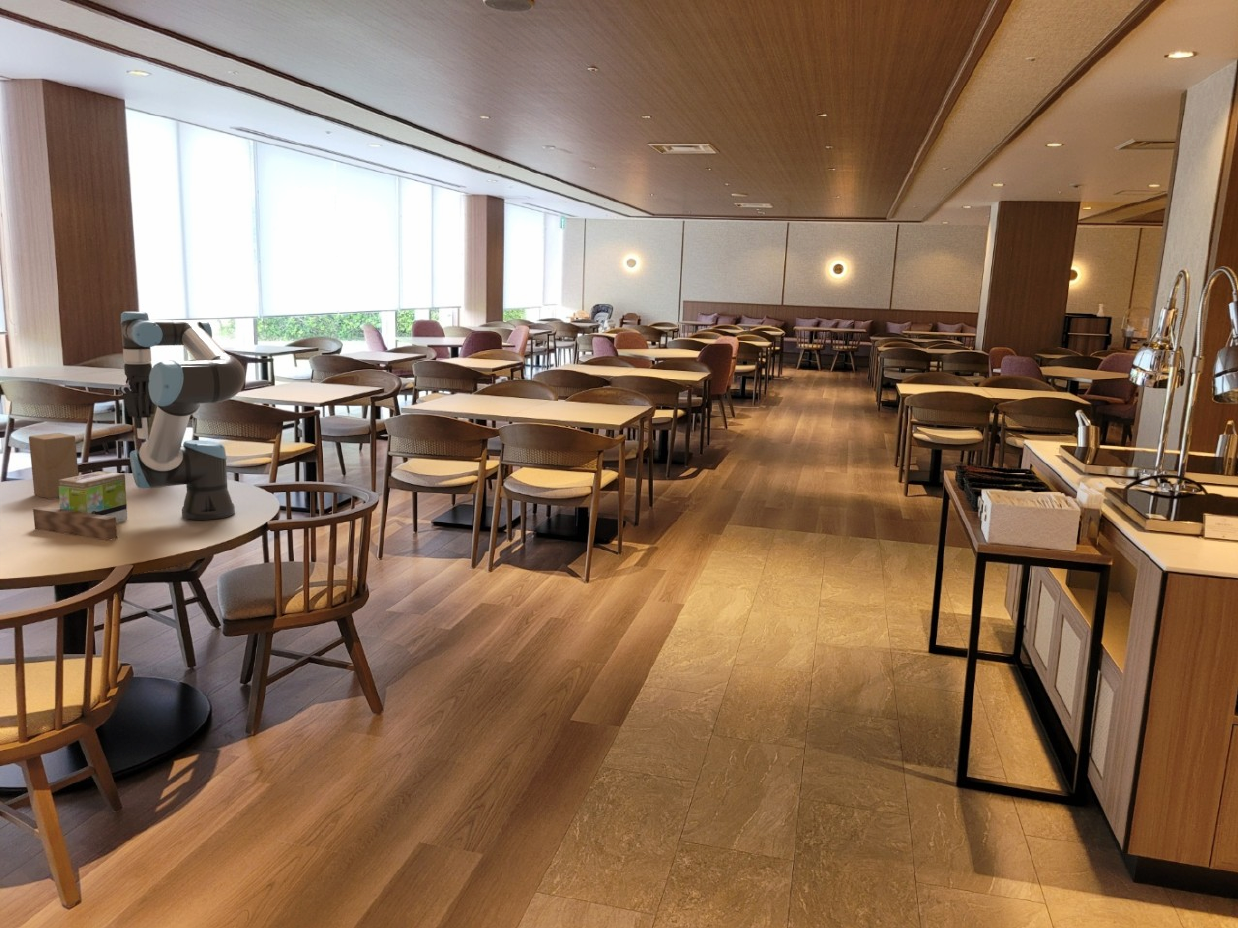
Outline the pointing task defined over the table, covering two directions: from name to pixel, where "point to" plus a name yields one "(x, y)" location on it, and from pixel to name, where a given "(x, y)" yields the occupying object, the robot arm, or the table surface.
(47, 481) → the wooden block
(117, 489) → the tea box
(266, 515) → the table surface
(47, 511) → the walnut plank
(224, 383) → the robot arm
